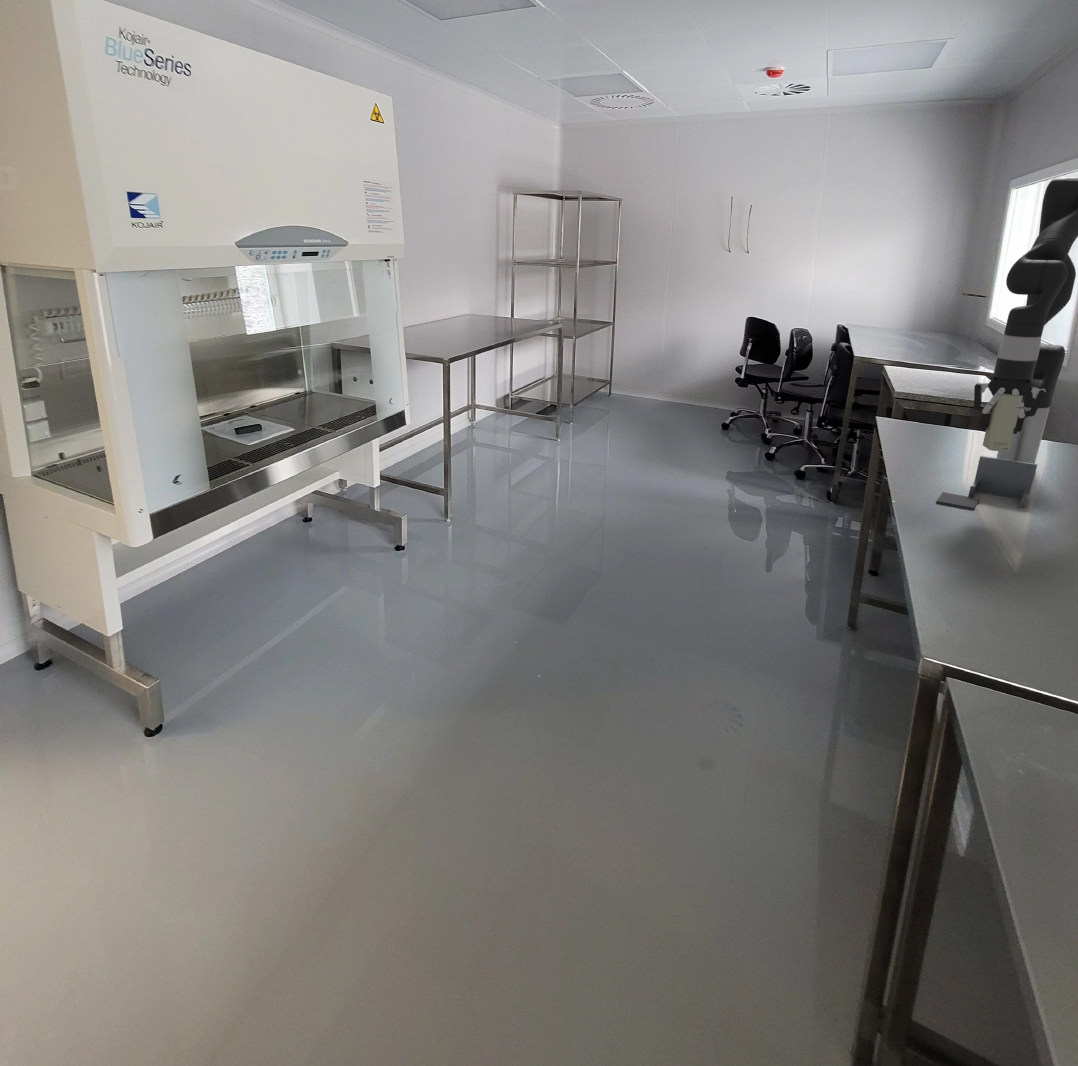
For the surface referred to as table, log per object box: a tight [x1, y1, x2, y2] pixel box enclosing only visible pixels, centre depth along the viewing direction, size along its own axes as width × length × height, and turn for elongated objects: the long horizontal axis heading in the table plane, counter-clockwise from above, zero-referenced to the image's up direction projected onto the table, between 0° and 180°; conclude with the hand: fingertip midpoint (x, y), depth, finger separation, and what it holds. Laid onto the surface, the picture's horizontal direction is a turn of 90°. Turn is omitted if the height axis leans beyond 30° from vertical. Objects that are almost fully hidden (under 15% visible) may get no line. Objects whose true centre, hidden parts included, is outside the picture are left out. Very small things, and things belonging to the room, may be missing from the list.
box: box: [982, 393, 1023, 452], centre depth 167 cm, size 5×4×13 cm
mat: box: [935, 491, 980, 511], centre depth 178 cm, size 8×8×1 cm
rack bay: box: [967, 455, 1038, 509], centre depth 178 cm, size 8×12×9 cm, turn 53°
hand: (999, 431), depth 168 cm, fingers closed on box, 5 cm apart
